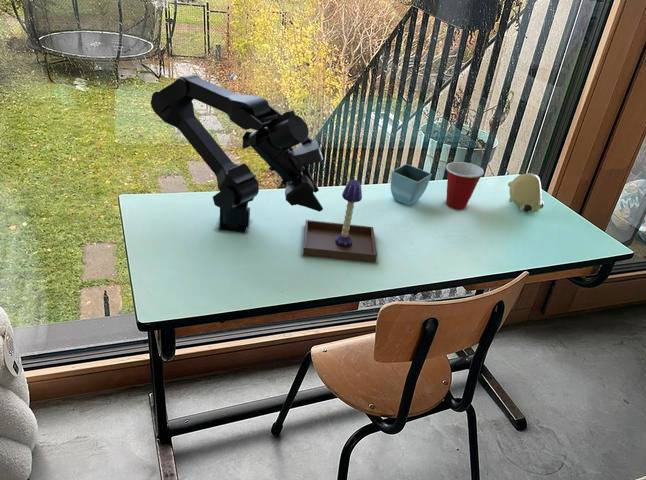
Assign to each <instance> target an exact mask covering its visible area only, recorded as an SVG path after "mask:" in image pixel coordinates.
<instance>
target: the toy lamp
mask: <svg viewBox="0 0 646 480" xmlns="http://www.w3.org/2000/svg"><path fill="white" fill-rule="evenodd" d="M341 197H342V199H343V200H345V201H346V202H347V203H346V210H345V215H344V220H343V224H344V225H343V228H342V229H343V231H342V233H341V235H339V236H337V238H336V239H335V242H336V244H337V245H339V246H342V247H349V246H351V245H352V239H351V237H350V236H348V234H349V233H348V231H349V229H350V225H352V219H353V214H354V208H355V203H359V202H361V201H362V200H363V199H362V198H363V191H362V183H361V182H360V180H357V179H349V180H348V181H347V184H346V185H345V187H344V189H343V191H342V194H341Z"/></svg>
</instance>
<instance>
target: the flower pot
mask: <svg viewBox="0 0 646 480" xmlns="http://www.w3.org/2000/svg"><path fill="white" fill-rule="evenodd" d="M431 177H432V173H431V172H429V171H425V170H423V169H422V168H419V167H416V166H414V165H411V164H408V163H405V164H402V165H401V166H399V167H397V168H395V169H393V170H392V171H391V174H390V193H391V196H392V198H393V200H395V201H397V202H399V203H401V204H403V205H406V206H408V207H410V206H412V205H413V204H414V203H416V202H417V201H418V200H419V199H420V198H421V197H422V196H423V195H424V193H425V192H426V190H427V188H428V185H429V183H430V181H431Z"/></svg>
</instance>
